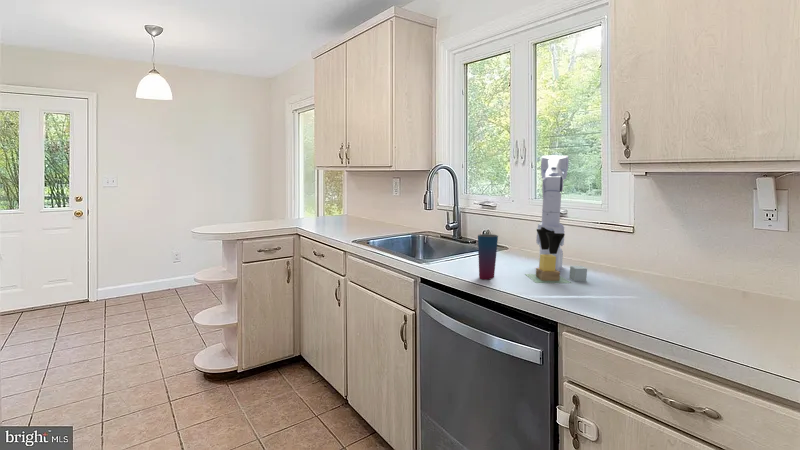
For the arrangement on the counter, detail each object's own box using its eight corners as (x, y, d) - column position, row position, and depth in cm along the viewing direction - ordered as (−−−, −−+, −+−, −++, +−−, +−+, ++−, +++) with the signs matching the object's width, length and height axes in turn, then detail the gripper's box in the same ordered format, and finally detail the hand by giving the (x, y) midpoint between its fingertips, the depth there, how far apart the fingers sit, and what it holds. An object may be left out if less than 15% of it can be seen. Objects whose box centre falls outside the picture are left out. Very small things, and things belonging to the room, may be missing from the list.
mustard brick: (539, 268, 147) (540, 254, 146) (550, 268, 147) (551, 254, 146) (543, 271, 143) (544, 256, 142) (555, 271, 143) (556, 256, 142)
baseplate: (524, 275, 151) (524, 274, 151) (557, 276, 151) (558, 274, 151) (535, 284, 139) (535, 282, 139) (571, 284, 139) (572, 283, 139)
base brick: (535, 276, 148) (536, 267, 148) (552, 276, 148) (553, 267, 148) (541, 280, 142) (542, 271, 142) (559, 280, 142) (560, 271, 142)
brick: (569, 280, 146) (570, 265, 145) (580, 280, 146) (581, 266, 146) (574, 283, 142) (575, 268, 141) (586, 283, 142) (587, 268, 142)
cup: (496, 281, 143) (498, 237, 141) (476, 279, 144) (477, 236, 143) (496, 276, 150) (497, 234, 148) (477, 275, 151) (478, 233, 149)
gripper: (532, 209, 150) (530, 247, 151) (547, 213, 135) (544, 255, 137) (552, 209, 150) (550, 247, 151) (569, 214, 135) (566, 255, 137)
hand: (548, 251), depth 144 cm, fingers open, 7 cm apart
